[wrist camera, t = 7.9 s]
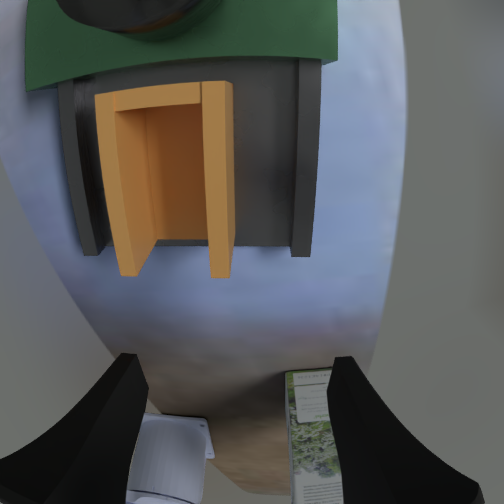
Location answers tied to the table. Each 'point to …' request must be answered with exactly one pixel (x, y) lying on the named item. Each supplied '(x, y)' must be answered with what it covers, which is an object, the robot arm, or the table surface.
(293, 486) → the syrup box
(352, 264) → the table surface
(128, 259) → the tan arch block
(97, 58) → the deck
